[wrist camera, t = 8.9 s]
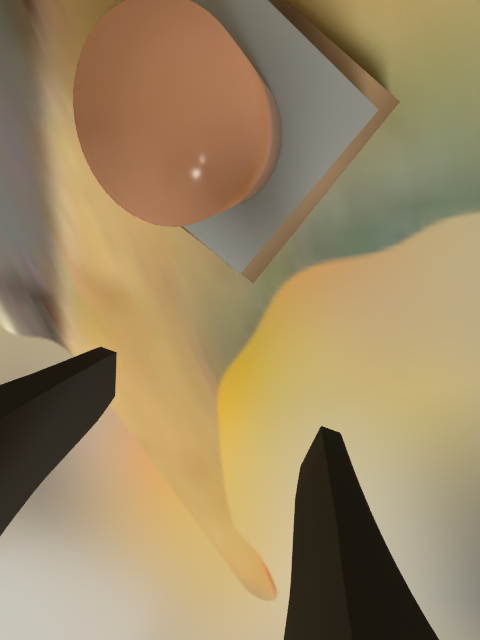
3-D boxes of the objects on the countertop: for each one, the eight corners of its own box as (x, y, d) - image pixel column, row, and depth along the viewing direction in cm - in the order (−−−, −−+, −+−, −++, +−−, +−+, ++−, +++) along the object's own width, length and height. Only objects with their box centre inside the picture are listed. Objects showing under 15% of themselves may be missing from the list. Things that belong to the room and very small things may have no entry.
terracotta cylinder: (310, 116, 11) (299, 86, 7) (235, 230, 14) (193, 261, 9) (197, 25, 11) (112, -67, 7) (141, 159, 13) (52, 156, 9)
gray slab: (370, 118, 13) (378, 109, 11) (250, 259, 17) (239, 274, 15) (220, -29, 12) (196, -71, 10) (131, 156, 16) (100, 156, 14)
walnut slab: (389, 110, 15) (399, 101, 12) (261, 269, 20) (253, 283, 17) (218, -41, 14) (197, -78, 12) (130, 166, 19) (104, 166, 17)
